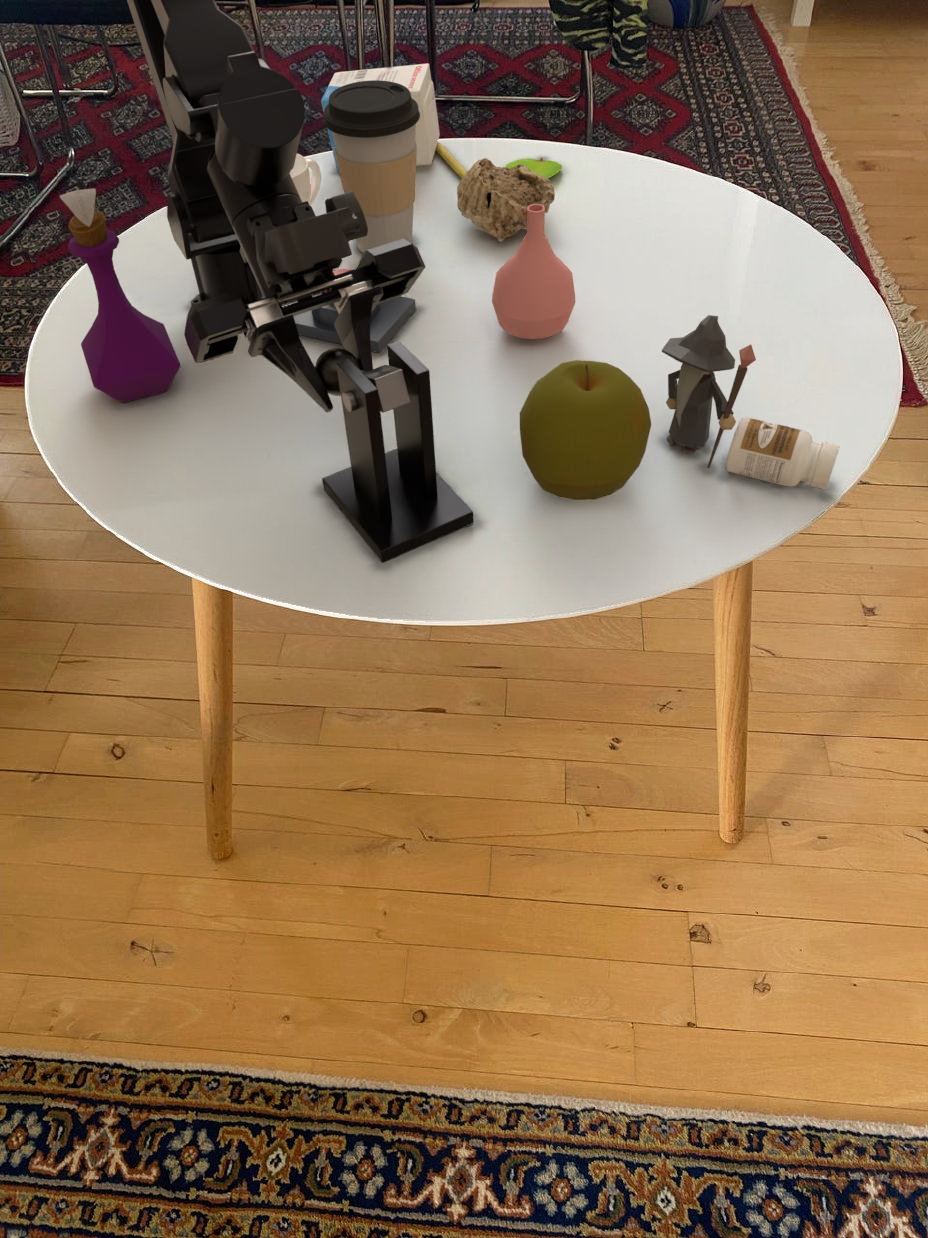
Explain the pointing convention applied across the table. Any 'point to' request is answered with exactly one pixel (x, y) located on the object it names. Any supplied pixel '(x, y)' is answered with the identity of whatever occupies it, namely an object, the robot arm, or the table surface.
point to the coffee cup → (377, 155)
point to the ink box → (421, 92)
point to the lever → (382, 377)
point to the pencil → (450, 160)
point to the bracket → (393, 465)
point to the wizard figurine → (702, 384)
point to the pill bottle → (780, 454)
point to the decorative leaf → (539, 166)
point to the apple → (584, 430)
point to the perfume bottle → (117, 316)
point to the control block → (382, 324)
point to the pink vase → (534, 285)
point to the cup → (306, 178)
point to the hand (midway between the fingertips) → (350, 402)
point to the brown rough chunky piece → (501, 197)
